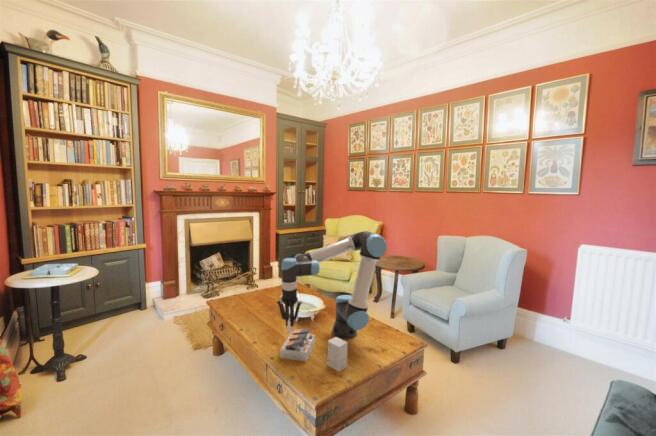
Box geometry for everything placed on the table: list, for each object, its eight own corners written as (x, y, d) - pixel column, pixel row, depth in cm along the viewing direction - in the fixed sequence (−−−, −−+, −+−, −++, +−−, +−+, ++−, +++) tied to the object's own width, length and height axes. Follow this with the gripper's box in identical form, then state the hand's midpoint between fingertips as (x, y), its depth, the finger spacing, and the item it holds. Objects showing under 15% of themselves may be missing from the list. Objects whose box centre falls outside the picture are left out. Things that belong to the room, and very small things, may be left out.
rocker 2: (307, 337, 160) (306, 333, 160) (305, 341, 156) (304, 337, 156) (292, 339, 162) (291, 335, 162) (289, 342, 158) (288, 338, 158)
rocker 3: (304, 341, 154) (302, 337, 154) (302, 345, 150) (300, 341, 150) (289, 346, 156) (287, 342, 156) (286, 350, 152) (285, 346, 152)
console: (314, 343, 167) (314, 334, 166) (306, 361, 149) (306, 351, 149) (291, 340, 170) (291, 331, 169) (280, 358, 152) (280, 348, 151)
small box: (347, 366, 146) (348, 342, 144) (339, 372, 141) (339, 347, 140) (335, 359, 151) (335, 336, 150) (326, 365, 147) (327, 340, 145)
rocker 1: (310, 331, 166) (309, 328, 166) (308, 335, 162) (307, 331, 162) (295, 333, 168) (294, 329, 167) (293, 337, 164) (292, 333, 164)
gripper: (303, 286, 153) (303, 329, 155) (279, 285, 155) (280, 327, 158) (299, 292, 145) (299, 336, 148) (274, 290, 148) (275, 334, 151)
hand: (289, 331), depth 153 cm, fingers closed
